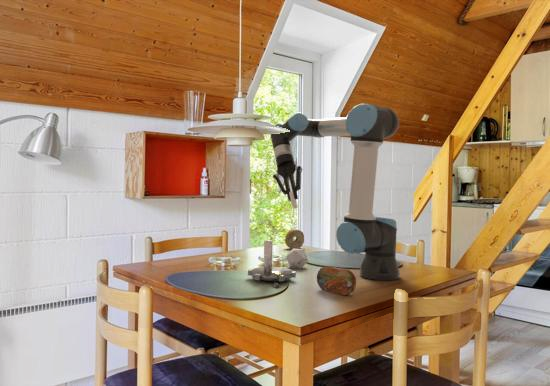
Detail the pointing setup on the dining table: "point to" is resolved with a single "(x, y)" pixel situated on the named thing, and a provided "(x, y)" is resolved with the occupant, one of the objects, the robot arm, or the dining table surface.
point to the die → (297, 258)
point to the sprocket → (270, 267)
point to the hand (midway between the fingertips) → (294, 206)
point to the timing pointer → (276, 284)
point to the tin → (336, 280)
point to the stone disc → (297, 242)
